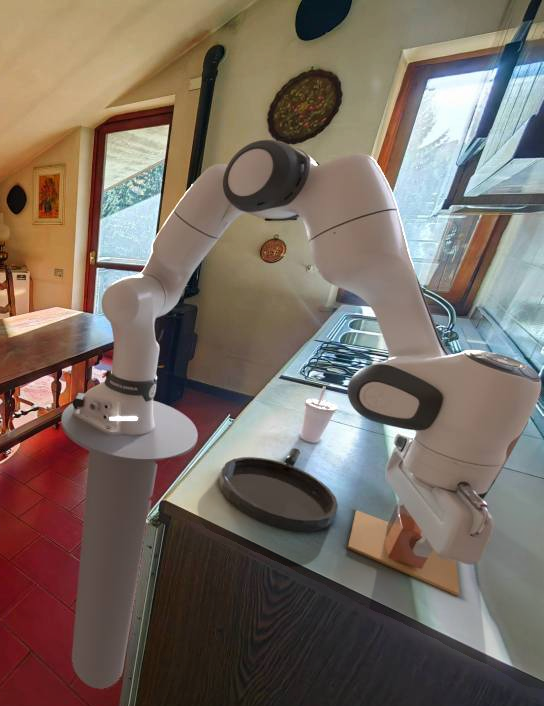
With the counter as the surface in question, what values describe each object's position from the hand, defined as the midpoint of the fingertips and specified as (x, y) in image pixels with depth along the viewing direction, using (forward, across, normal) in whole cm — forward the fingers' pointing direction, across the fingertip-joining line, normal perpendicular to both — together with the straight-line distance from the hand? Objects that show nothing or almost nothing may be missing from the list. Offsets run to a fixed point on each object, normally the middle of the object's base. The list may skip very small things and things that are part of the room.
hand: (409, 539), depth 61 cm
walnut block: (+4, +6, -2) cm, 7 cm away
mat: (+4, +3, -1) cm, 5 cm away
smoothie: (+4, +39, +5) cm, 39 cm away
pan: (+4, +10, +17) cm, 20 cm away
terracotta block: (+3, 0, 0) cm, 3 cm away
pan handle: (+4, +23, +12) cm, 26 cm away
